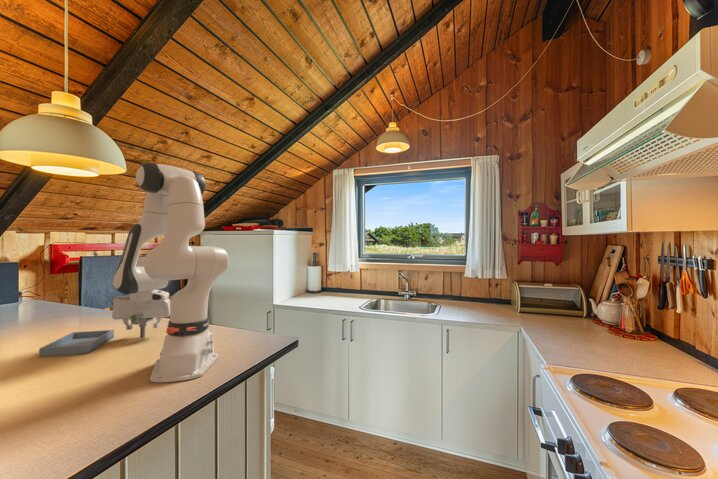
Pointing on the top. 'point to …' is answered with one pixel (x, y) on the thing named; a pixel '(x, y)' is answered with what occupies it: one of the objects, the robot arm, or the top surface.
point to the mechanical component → (140, 323)
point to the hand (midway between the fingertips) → (142, 328)
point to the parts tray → (76, 343)
